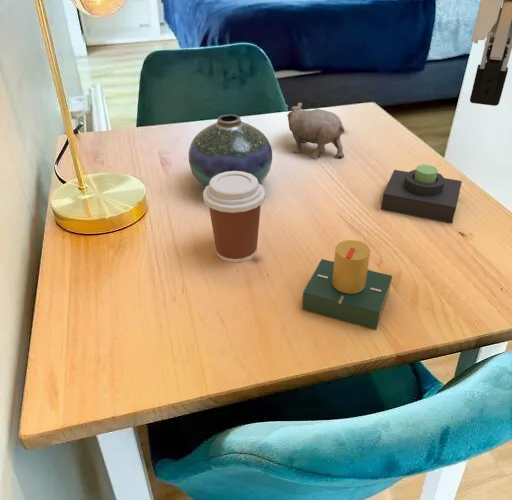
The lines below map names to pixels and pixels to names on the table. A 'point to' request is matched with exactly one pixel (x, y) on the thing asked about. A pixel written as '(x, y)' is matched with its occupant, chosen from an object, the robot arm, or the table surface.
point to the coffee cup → (235, 214)
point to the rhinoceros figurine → (315, 129)
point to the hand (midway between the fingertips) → (484, 101)
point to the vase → (229, 150)
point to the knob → (350, 266)
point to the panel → (347, 297)
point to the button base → (421, 196)
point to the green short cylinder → (425, 174)
